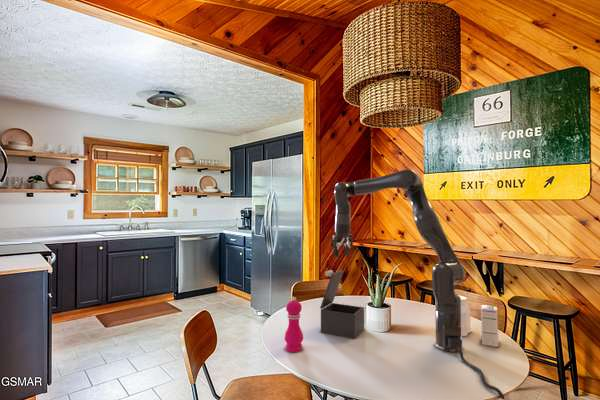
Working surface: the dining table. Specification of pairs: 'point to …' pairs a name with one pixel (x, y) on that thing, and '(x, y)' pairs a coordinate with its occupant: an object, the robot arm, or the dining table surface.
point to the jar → (465, 317)
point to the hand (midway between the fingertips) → (341, 256)
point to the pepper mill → (293, 327)
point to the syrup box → (489, 325)
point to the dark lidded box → (342, 320)
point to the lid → (331, 287)
